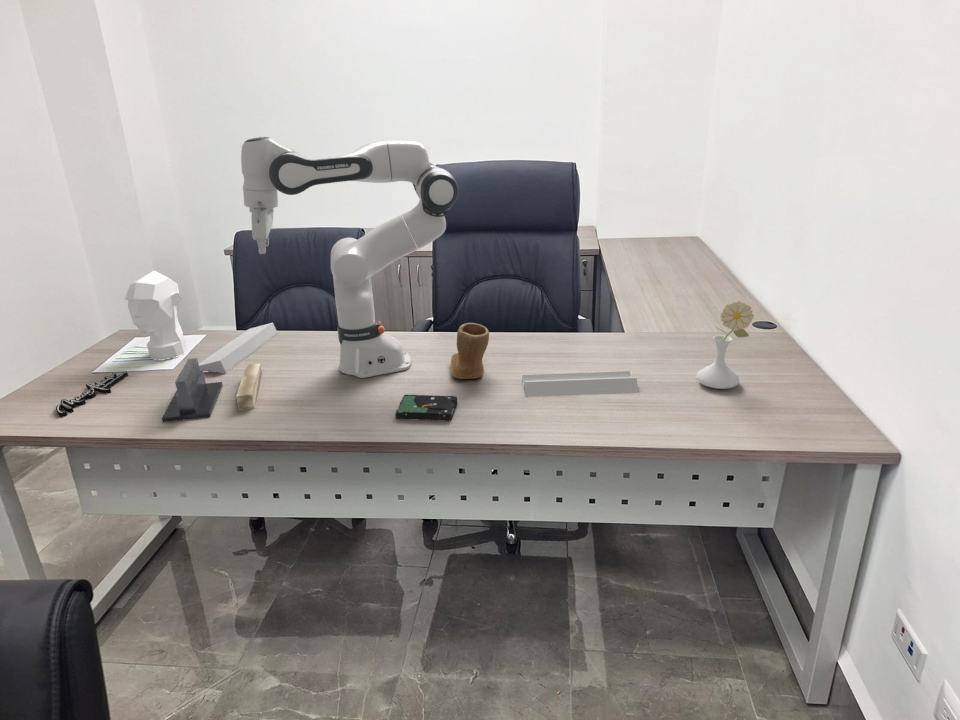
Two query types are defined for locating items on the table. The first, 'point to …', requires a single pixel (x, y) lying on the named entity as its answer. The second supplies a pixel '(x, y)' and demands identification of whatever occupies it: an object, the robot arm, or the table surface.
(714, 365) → the flower in vase
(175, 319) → the head bust
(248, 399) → the beech rod
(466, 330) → the brown boot
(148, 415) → the table surface
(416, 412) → the disk drive
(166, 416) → the dark gray stand
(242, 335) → the decorative molding
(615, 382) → the crown molding
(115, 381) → the nameplate
